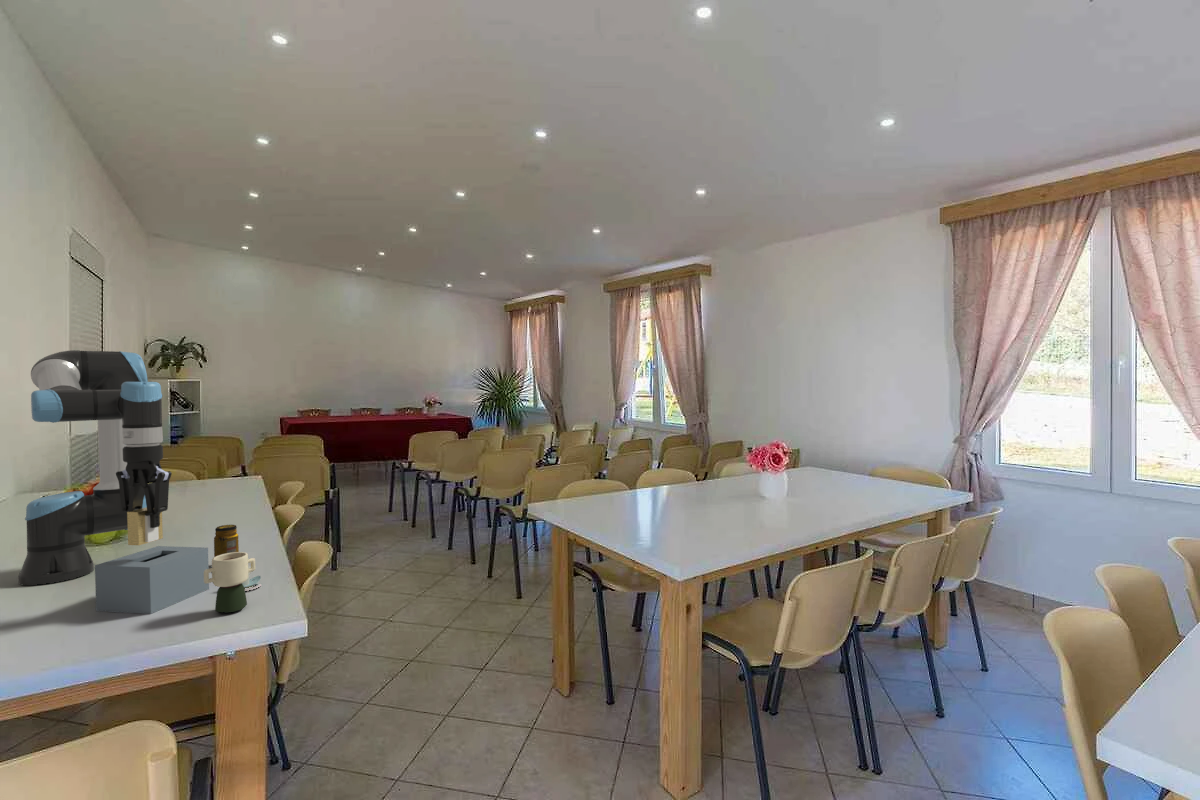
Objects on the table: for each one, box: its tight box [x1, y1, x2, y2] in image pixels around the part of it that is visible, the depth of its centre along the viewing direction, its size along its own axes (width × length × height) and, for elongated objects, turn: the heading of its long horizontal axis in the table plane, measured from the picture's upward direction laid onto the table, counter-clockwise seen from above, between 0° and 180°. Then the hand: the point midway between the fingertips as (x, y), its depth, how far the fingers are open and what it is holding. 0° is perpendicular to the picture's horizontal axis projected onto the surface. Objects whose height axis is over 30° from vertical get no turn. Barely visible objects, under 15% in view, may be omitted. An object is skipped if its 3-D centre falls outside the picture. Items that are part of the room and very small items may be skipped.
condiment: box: [213, 524, 240, 558], centre depth 162 cm, size 7×8×12 cm
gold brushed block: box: [127, 507, 164, 546], centre depth 133 cm, size 3×6×8 cm, turn 171°
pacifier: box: [242, 565, 262, 592], centre depth 143 cm, size 7×6×6 cm
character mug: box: [204, 551, 256, 613], centre depth 129 cm, size 11×7×13 cm, turn 146°
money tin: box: [94, 545, 210, 615], centre depth 136 cm, size 15×16×11 cm
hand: (145, 540), depth 133 cm, fingers closed on gold brushed block, 3 cm apart
